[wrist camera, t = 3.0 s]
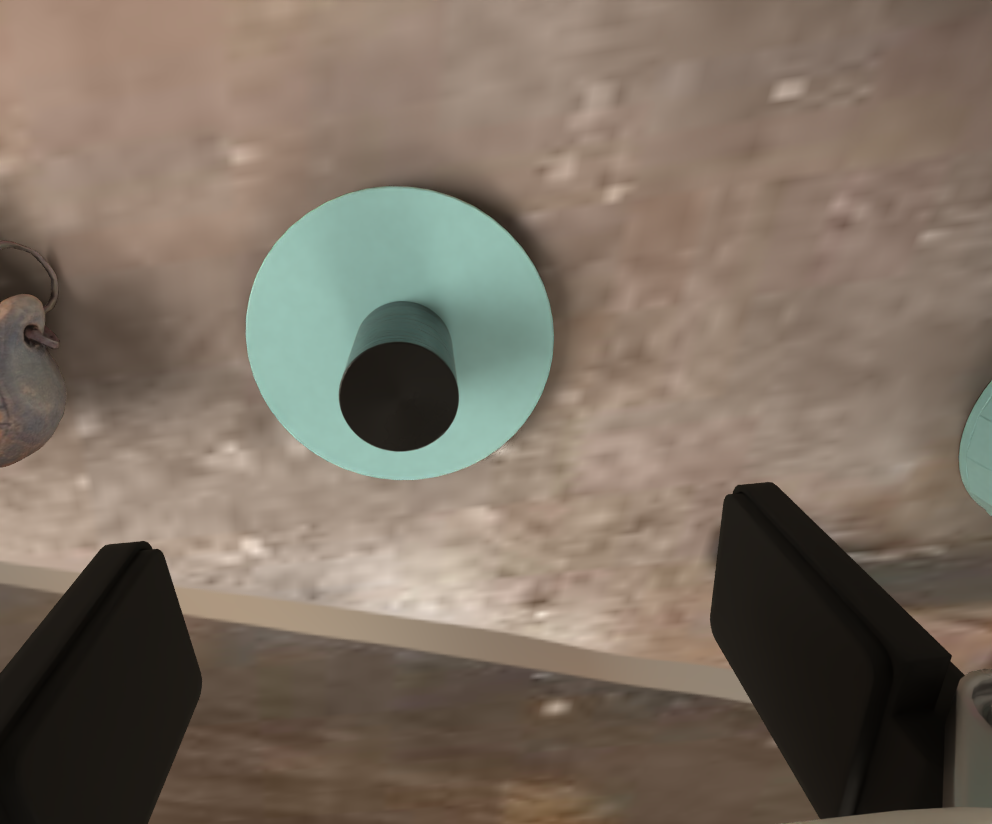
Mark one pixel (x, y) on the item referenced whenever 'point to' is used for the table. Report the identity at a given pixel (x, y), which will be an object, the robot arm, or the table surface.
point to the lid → (399, 333)
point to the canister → (978, 451)
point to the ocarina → (28, 372)
